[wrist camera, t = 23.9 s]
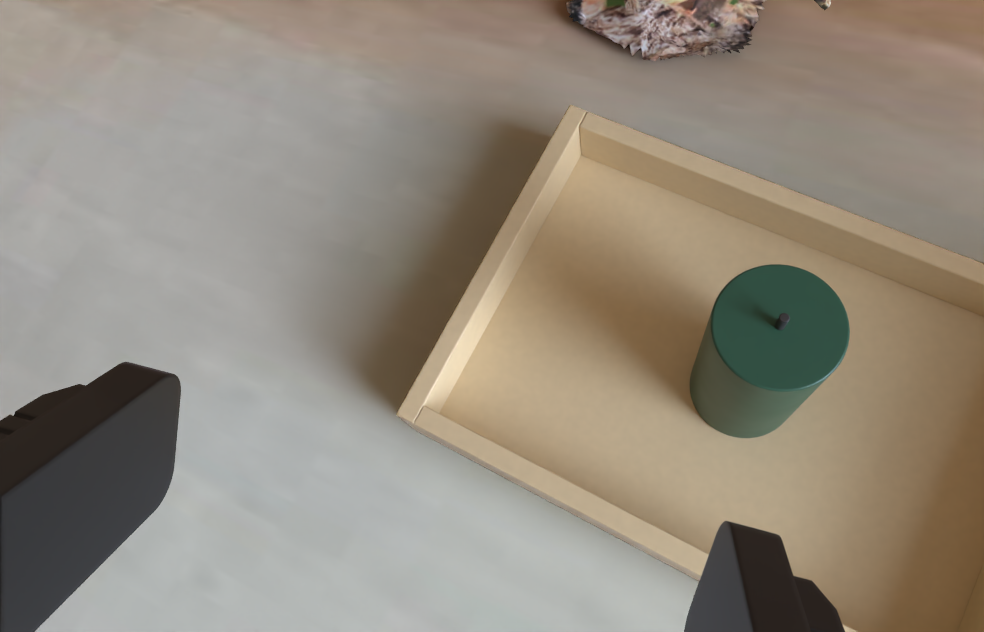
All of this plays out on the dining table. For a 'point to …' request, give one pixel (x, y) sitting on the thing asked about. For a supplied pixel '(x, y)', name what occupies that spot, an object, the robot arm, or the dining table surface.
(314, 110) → the dining table surface
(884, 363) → the wooden tray
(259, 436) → the dining table surface
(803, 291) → the green candle
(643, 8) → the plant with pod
